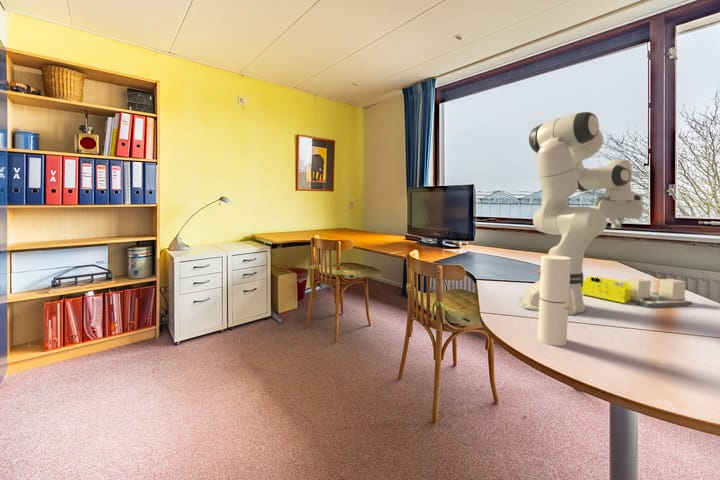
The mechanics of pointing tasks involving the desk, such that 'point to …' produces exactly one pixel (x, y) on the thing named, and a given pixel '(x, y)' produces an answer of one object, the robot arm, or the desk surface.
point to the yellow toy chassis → (607, 289)
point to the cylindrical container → (554, 299)
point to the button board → (658, 301)
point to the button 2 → (672, 289)
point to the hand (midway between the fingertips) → (616, 228)
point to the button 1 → (639, 287)
